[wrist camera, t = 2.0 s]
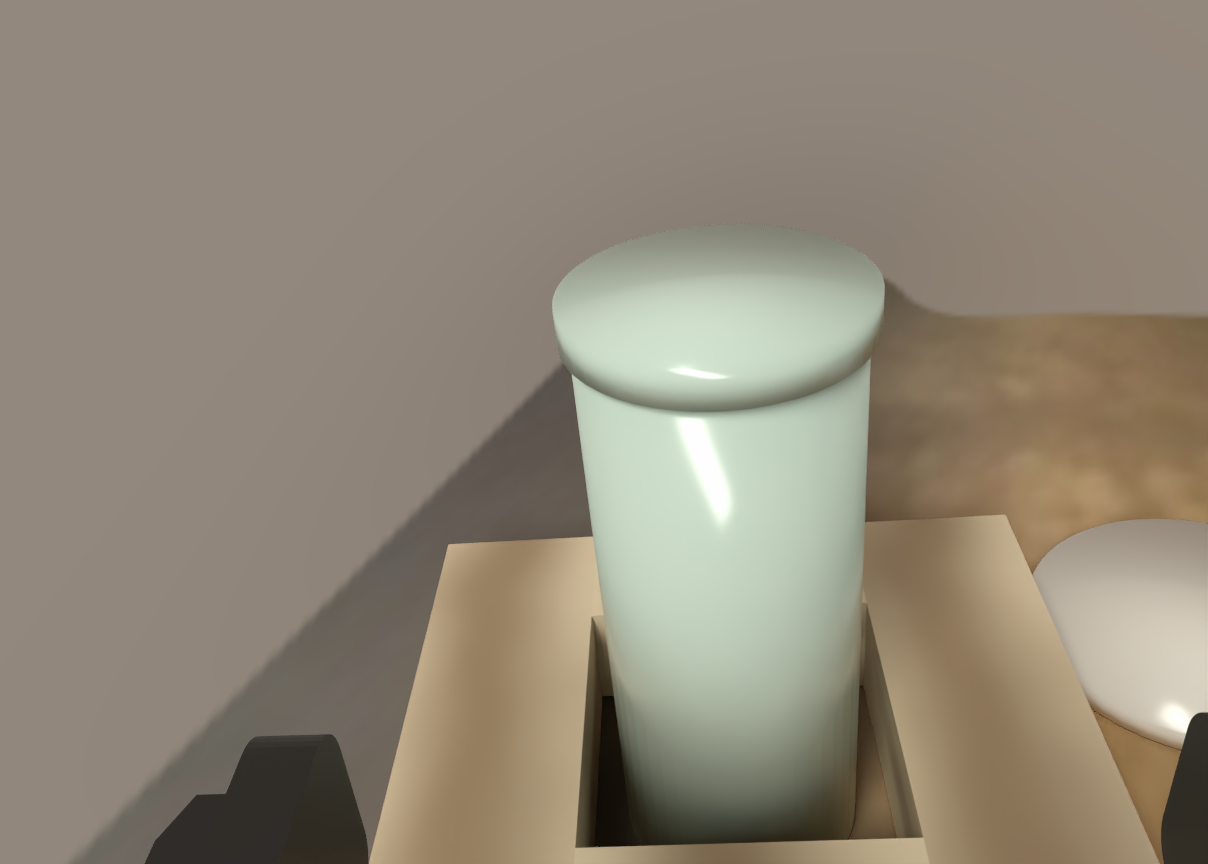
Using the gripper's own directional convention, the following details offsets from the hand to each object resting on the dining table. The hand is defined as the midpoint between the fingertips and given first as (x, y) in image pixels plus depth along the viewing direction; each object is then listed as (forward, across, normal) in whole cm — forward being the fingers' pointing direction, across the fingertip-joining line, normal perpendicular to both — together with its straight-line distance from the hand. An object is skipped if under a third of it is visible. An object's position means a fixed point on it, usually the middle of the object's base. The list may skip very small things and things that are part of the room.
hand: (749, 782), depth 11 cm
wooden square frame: (+11, 0, +14) cm, 18 cm away
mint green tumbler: (+11, 0, +14) cm, 18 cm away
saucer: (+16, -13, +14) cm, 25 cm away
